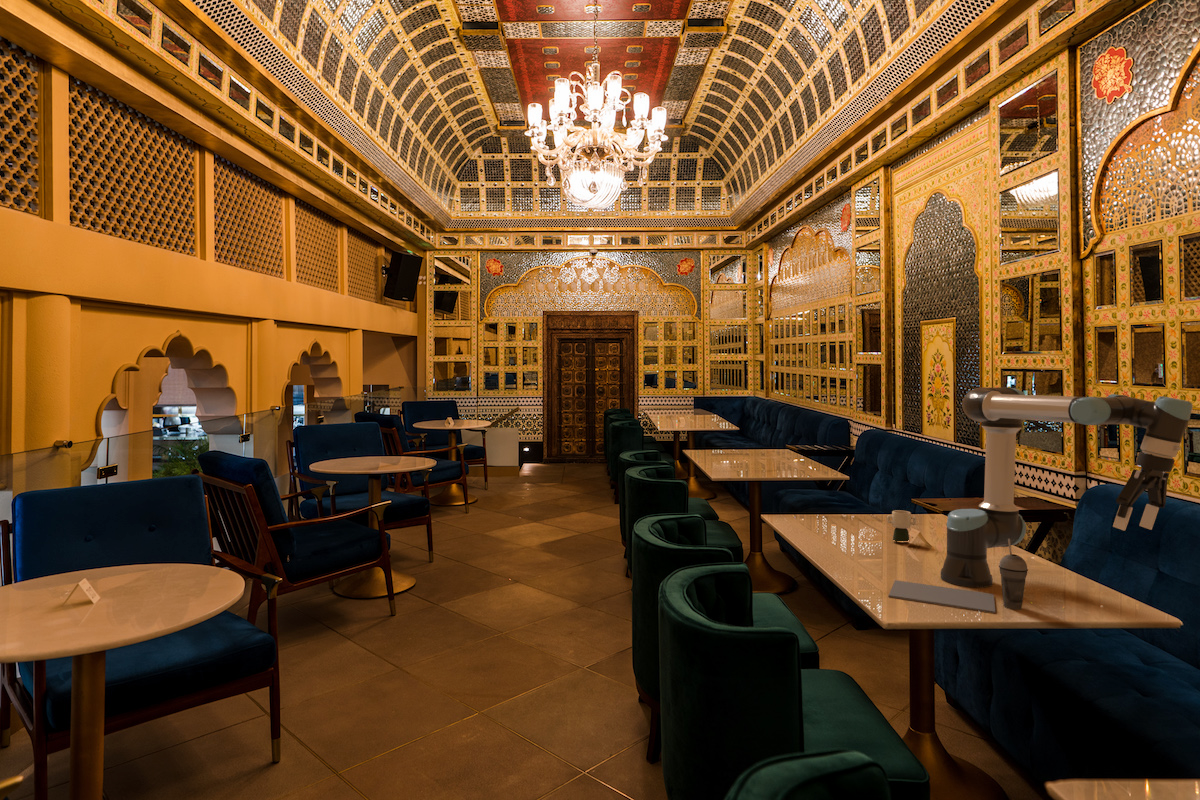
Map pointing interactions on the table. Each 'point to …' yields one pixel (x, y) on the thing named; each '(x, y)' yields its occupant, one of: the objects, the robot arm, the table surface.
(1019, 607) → the beverage cup
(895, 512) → the character mug
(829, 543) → the table surface
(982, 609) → the rubber mat
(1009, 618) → the table surface
